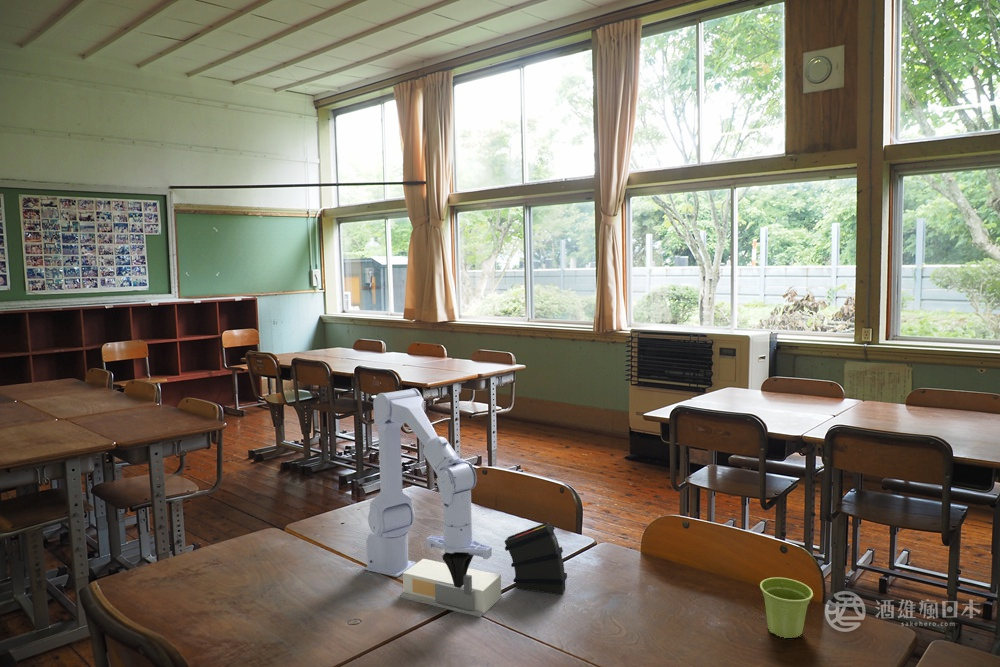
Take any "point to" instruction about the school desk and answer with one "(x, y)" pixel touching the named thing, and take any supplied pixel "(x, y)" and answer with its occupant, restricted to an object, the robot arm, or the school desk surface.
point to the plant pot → (785, 605)
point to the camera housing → (429, 572)
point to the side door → (456, 594)
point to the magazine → (537, 560)
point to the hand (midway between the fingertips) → (459, 585)
